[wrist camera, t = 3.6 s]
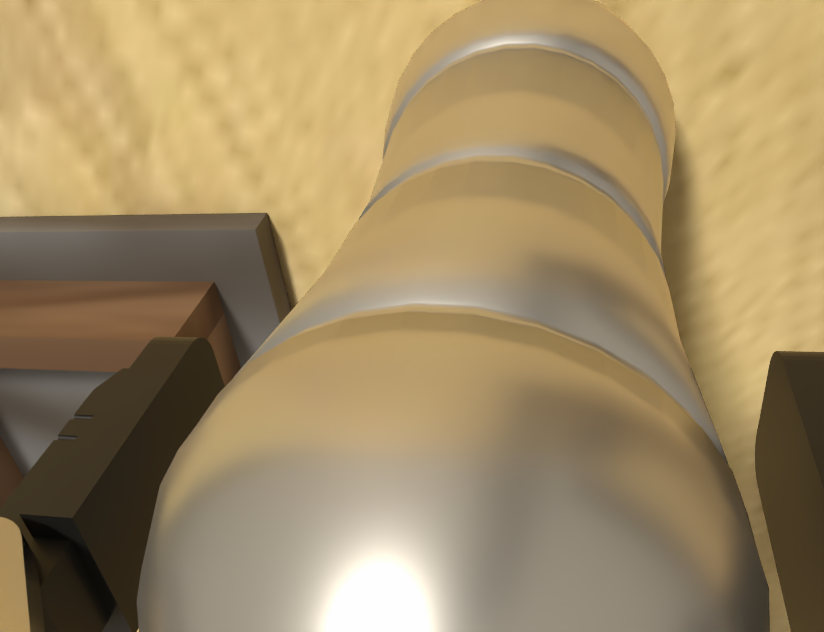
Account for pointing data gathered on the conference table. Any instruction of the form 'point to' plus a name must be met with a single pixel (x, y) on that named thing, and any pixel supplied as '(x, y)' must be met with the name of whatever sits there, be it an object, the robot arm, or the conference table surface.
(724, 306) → the conference table surface
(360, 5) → the conference table surface
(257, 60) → the conference table surface
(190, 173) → the conference table surface
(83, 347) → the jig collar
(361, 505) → the plastic bottle
